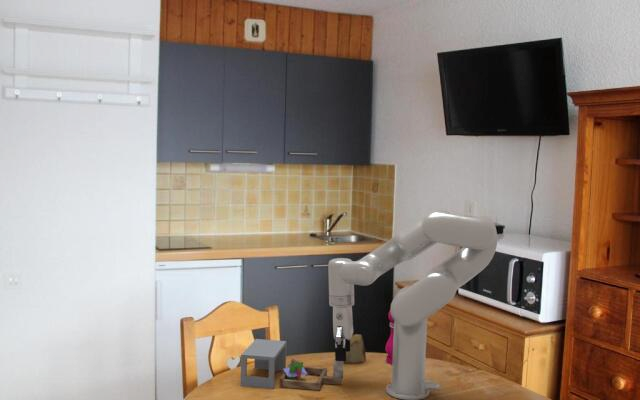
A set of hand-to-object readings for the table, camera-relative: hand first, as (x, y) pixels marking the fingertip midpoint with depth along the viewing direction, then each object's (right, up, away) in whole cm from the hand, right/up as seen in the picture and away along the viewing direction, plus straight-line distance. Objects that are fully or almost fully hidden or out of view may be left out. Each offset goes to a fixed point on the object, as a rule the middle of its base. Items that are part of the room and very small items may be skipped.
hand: (343, 356), depth 204 cm
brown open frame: (-9, -8, +2) cm, 12 cm away
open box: (-24, -8, +5) cm, 26 cm away
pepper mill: (+19, -8, +24) cm, 31 cm away
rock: (+3, -8, +23) cm, 25 cm away
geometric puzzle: (-15, -9, +2) cm, 17 cm away
